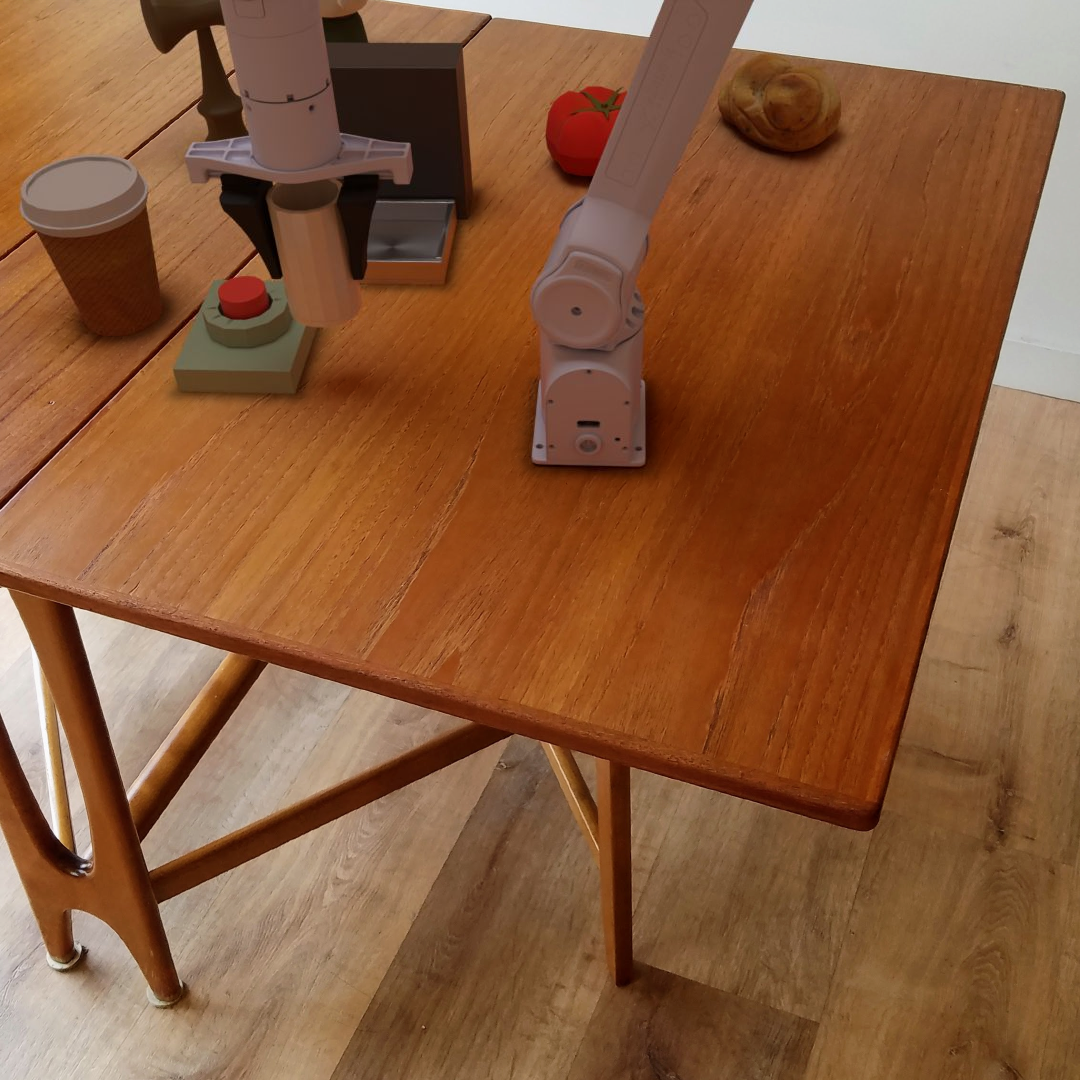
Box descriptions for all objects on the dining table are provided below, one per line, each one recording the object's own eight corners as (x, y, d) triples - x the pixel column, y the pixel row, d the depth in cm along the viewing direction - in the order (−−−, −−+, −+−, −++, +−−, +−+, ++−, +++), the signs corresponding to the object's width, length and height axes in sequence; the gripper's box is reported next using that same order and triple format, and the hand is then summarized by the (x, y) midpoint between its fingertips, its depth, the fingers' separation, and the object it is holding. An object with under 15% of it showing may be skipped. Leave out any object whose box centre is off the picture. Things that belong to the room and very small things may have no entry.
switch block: (295, 394, 88) (285, 351, 85) (179, 392, 88) (166, 349, 85) (325, 303, 96) (317, 261, 93) (219, 302, 96) (208, 260, 94)
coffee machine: (467, 220, 105) (455, 67, 95) (337, 219, 105) (311, 67, 95) (473, 192, 108) (462, 42, 98) (346, 191, 109) (323, 42, 99)
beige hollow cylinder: (355, 328, 81) (336, 213, 75) (283, 327, 82) (258, 213, 75) (367, 286, 85) (350, 174, 79) (297, 286, 85) (274, 173, 79)
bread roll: (695, 121, 117) (700, 42, 111) (765, 94, 121) (774, 16, 115) (784, 171, 109) (796, 88, 104) (856, 140, 113) (871, 59, 108)
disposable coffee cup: (64, 358, 92) (11, 223, 83) (65, 293, 98) (16, 161, 89) (186, 336, 93) (146, 202, 84) (179, 274, 100) (141, 143, 91)
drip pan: (443, 285, 97) (441, 261, 96) (324, 283, 98) (320, 260, 96) (457, 222, 104) (455, 199, 103) (346, 220, 105) (342, 197, 103)
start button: (263, 321, 88) (259, 302, 87) (217, 321, 88) (212, 301, 87) (274, 294, 91) (269, 275, 89) (229, 294, 91) (224, 275, 90)
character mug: (390, 82, 125) (375, -46, 116) (326, 94, 123) (306, -34, 114) (361, 44, 132) (345, -79, 123) (300, 55, 130) (279, -68, 121)
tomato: (665, 186, 108) (669, 119, 103) (548, 192, 108) (547, 125, 103) (652, 137, 115) (656, 72, 110) (543, 142, 115) (541, 78, 110)
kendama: (287, 151, 115) (246, -65, 100) (194, 176, 111) (137, -43, 97) (266, 127, 118) (223, -84, 104) (175, 151, 115) (118, -63, 101)
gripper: (409, 55, 74) (429, 241, 84) (187, 55, 75) (232, 240, 84) (394, 105, 69) (417, 297, 79) (157, 105, 70) (208, 295, 80)
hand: (320, 271), depth 81 cm, fingers closed on beige hollow cylinder, 5 cm apart
